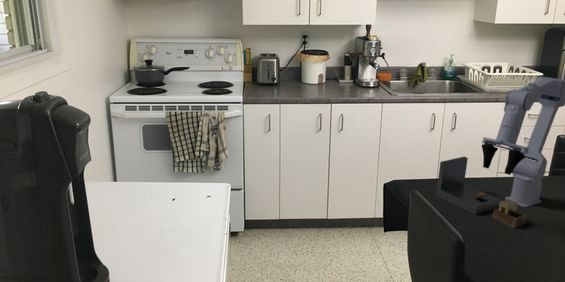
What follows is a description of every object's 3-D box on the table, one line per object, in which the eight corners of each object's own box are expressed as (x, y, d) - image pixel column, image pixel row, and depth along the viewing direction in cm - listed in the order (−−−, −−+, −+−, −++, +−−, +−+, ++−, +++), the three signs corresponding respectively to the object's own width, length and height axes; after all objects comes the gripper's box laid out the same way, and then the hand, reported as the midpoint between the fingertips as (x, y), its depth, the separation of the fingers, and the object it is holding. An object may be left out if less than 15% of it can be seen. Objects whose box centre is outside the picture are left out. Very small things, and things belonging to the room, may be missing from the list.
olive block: (505, 215, 159) (508, 199, 157) (514, 219, 156) (517, 202, 154) (497, 218, 157) (499, 201, 155) (505, 222, 154) (508, 205, 152)
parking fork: (503, 214, 160) (504, 206, 159) (525, 224, 154) (526, 216, 153) (492, 217, 158) (493, 209, 157) (514, 228, 151) (515, 219, 150)
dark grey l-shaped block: (459, 189, 179) (464, 156, 175) (499, 207, 165) (505, 172, 161) (436, 195, 173) (440, 161, 169) (475, 215, 159) (480, 178, 155)
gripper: (482, 121, 153) (468, 162, 153) (524, 130, 140) (510, 174, 141) (495, 126, 156) (482, 166, 157) (537, 135, 144) (523, 178, 145)
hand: (496, 171), depth 149 cm, fingers open, 7 cm apart
